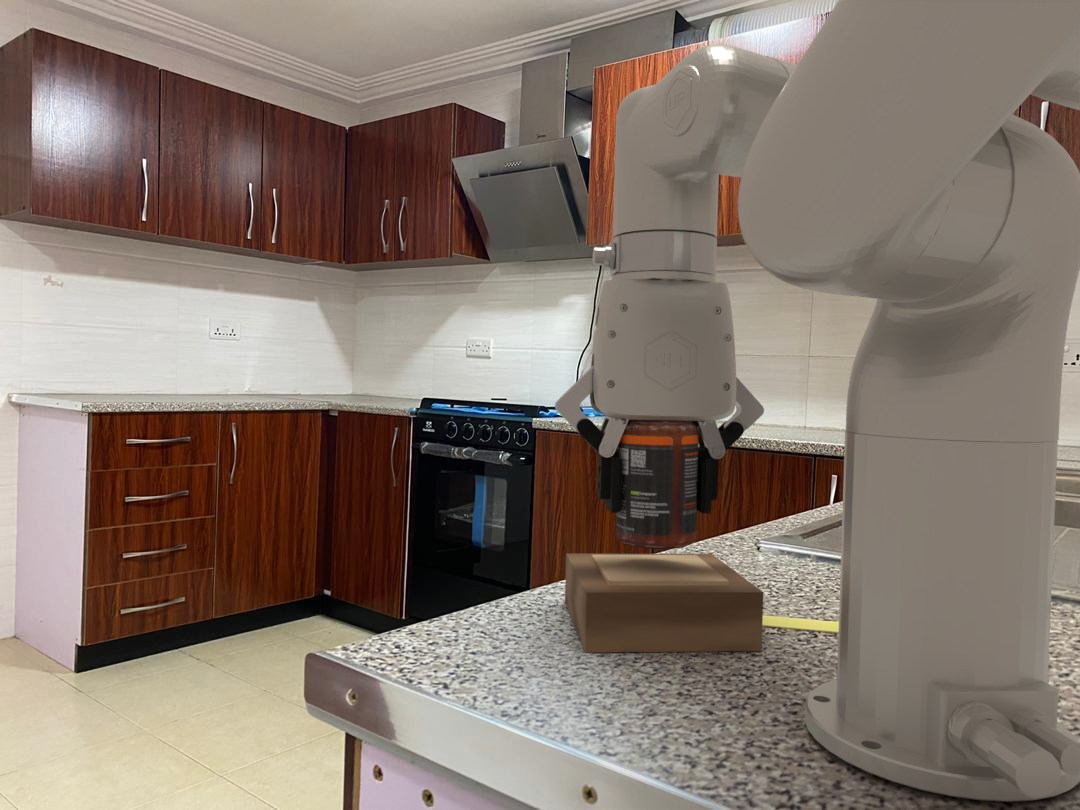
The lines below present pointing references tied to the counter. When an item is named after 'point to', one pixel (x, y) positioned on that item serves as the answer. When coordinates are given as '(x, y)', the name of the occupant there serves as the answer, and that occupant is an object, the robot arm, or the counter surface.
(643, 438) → the supplement bottle
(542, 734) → the counter surface
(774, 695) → the counter surface
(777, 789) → the counter surface
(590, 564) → the base slab
